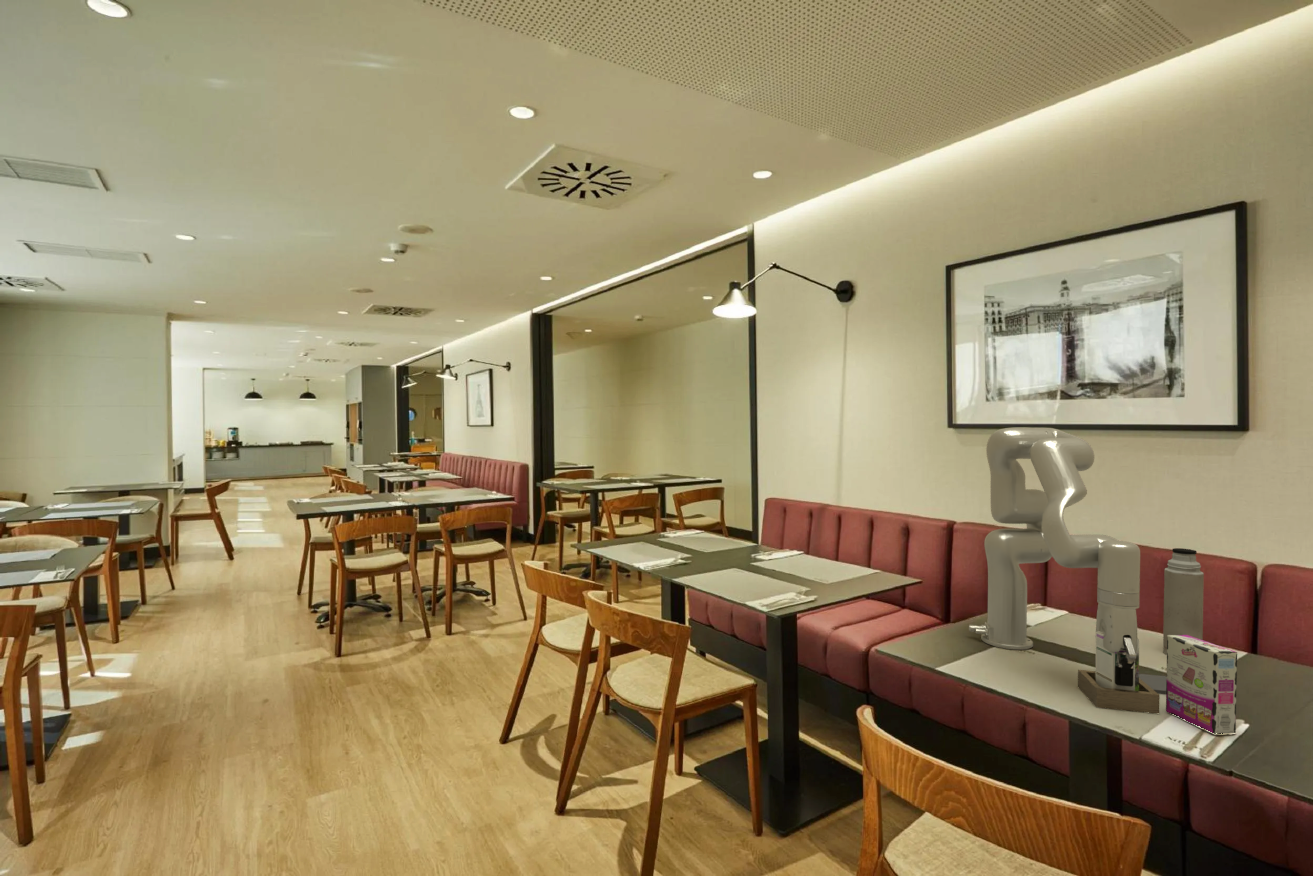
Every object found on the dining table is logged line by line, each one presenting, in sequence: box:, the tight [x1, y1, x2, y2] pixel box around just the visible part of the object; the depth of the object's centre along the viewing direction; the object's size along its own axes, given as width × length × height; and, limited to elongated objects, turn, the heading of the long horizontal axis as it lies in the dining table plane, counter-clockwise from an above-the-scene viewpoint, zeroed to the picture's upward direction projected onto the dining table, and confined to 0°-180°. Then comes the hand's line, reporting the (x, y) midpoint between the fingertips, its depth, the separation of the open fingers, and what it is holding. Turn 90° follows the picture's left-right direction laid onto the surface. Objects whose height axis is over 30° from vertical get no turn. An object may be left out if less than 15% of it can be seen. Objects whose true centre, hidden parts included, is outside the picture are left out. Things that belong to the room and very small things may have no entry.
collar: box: [1077, 669, 1161, 714], centre depth 142 cm, size 11×11×4 cm
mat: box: [1139, 673, 1167, 695], centre depth 150 cm, size 10×10×1 cm
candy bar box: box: [1165, 635, 1238, 734], centre depth 131 cm, size 11×5×16 cm, turn 5°
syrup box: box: [1095, 631, 1140, 691], centre depth 142 cm, size 6×6×14 cm
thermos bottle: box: [1162, 547, 1205, 656], centre depth 170 cm, size 8×8×28 cm
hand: (1116, 678), depth 142 cm, fingers closed on syrup box, 6 cm apart
